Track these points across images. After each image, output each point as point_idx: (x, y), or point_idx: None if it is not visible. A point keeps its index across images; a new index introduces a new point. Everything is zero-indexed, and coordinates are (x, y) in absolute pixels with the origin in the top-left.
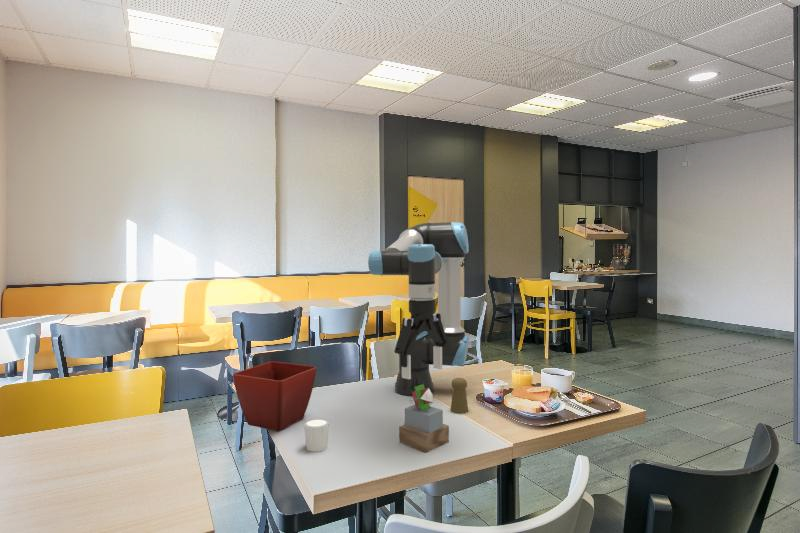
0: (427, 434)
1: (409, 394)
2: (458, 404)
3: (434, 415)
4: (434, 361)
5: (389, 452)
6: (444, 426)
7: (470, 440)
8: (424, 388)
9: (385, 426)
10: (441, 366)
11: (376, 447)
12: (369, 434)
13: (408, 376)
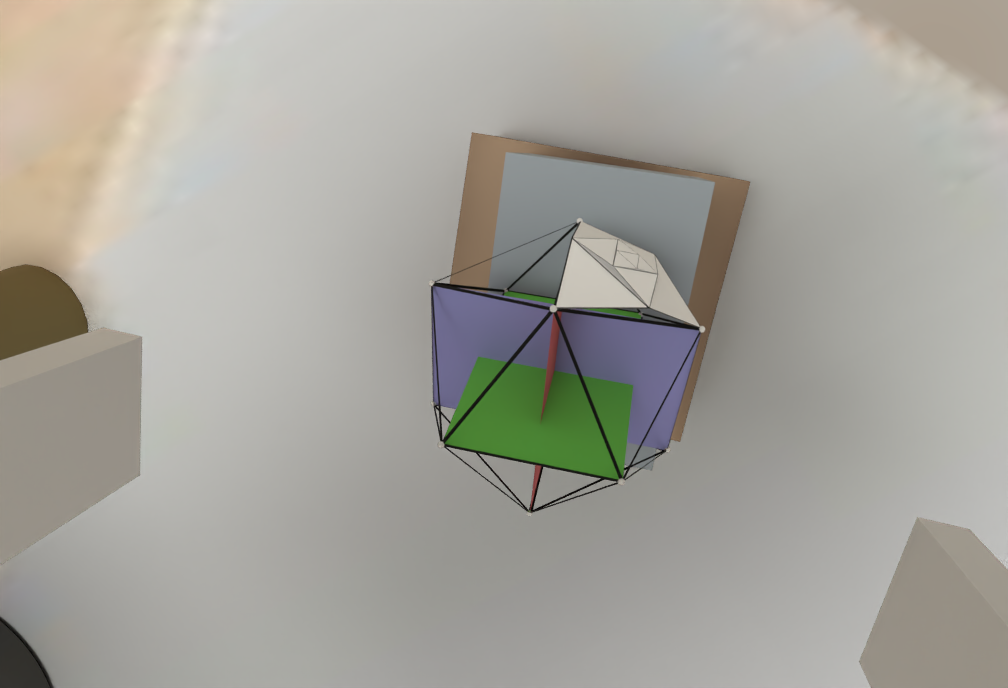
0: (721, 184)
1: (37, 676)
2: (26, 319)
3: (635, 170)
4: (53, 508)
5: (839, 379)
6: (504, 153)
7: (400, 18)
8: (461, 408)
9: (501, 581)
10: (85, 343)
11: (808, 481)
12: (655, 603)
13: (992, 568)
